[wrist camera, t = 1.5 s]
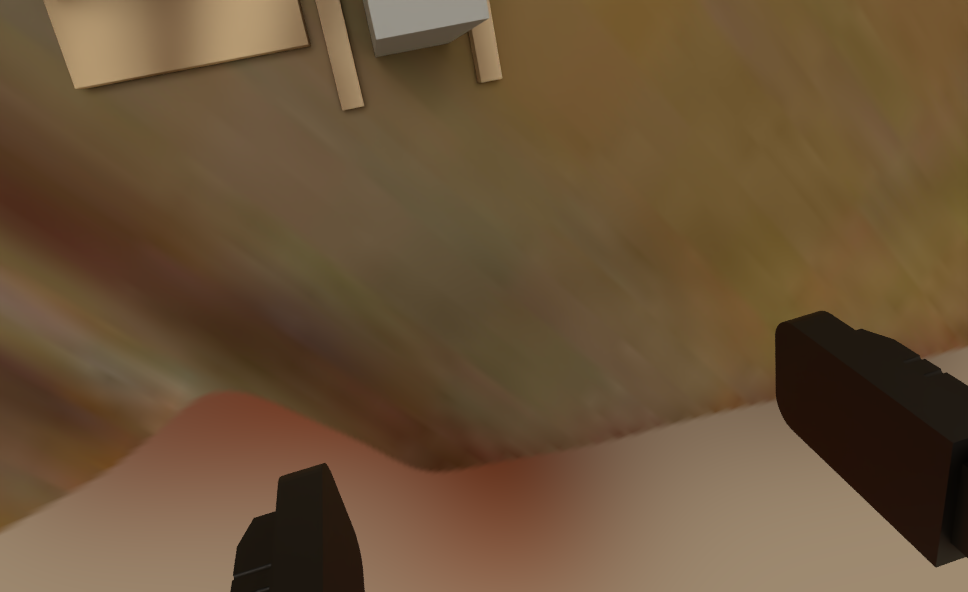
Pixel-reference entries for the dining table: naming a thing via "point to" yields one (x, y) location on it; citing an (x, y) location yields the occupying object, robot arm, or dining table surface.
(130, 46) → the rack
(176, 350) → the dining table surface
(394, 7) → the gray eraser-like brick
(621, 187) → the dining table surface
